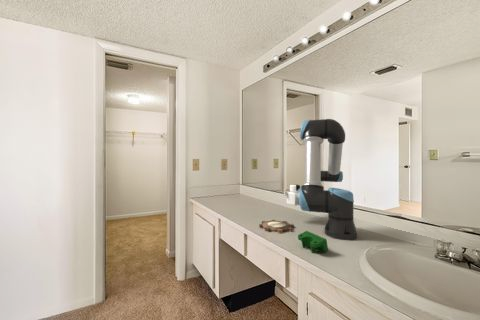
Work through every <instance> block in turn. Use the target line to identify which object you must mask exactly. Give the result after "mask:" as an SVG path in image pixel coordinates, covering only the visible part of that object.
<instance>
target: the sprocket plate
mask: <svg viewBox="0 0 480 320" xmlns="http://www.w3.org/2000/svg"><path fill="white" fill-rule="evenodd" d="M258 227H259V229H264V232H267V233H268V232H273V233H278V234H283V233H285V232H290V233H291V232H294V229H295V224H294V223H289V222H288V221H287V220H283V221H281V220H276V219H271V220H267V221H266V220H263V221H261V223H259V225H258Z"/></svg>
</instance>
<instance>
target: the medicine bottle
mask: <svg viewBox="0 0 480 320" xmlns="http://www.w3.org/2000/svg"><path fill="white" fill-rule="evenodd" d="M299 189H301V186H300V185H299V184H290V185H289V190H290V192H287V195H286V204H287V205H292V206H300V203H299V197H298V190H299Z"/></svg>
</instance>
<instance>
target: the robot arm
mask: <svg viewBox="0 0 480 320" xmlns="http://www.w3.org/2000/svg"><path fill="white" fill-rule="evenodd" d="M300 126H301V127H300V134H299V136H300V137H299V138H300V140H301V141H302V143H303V144H304V174H303V175H304V176H303V177H304V179H303V184H301V186H300V189H299V190H298V197H299V203H300V205H299V208H300V209H301V211H304V212H309V213H311V212H313V213H323V214H327V216H328V217H327V221H326V223H325V226H324V234H325V235H326V236H328V237H331V238H333V239H338V240H344V241H345V240H346V241H348V240H349V241H350V240H351V241H352V240H356V239H357V238H358V231H357V230H358V229H357V227H356V224H355V222H354V202H355V200H354V193H353V192H352V191H350V190H348V189H344V188H337V187H329V188H327V190H326V189H325V188H324V185H322V184H321V183H322V182H327V183H328V182H330V183H342V182H343V181H342V180H343V178H344V175H343V171H341V164H342V156H343V146H344V145H343V144H344V143H345V141H346V132H345V129H344V127H343V125H342V124H341V123H339V122H338V121H337V120H335V119H332V118H322V119H307V120H304V121H302V123H301V125H300ZM324 140H327V142H328V163H327V170H322V169H321V166H322V165H321V162H322V161H321V160H322V159H321V158H322V157H321V156H322V155H321V154H322V151H321V150H322V149H321V146H322V144H323V143H324ZM287 192H290V189H286V190H284V191H283V196H286V197H287Z"/></svg>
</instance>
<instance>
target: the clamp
mask: <svg viewBox="0 0 480 320" xmlns="http://www.w3.org/2000/svg"><path fill="white" fill-rule="evenodd" d="M297 239H298V241H300V242H301V246H302V248H303V249H305V248H308V247H309V248H310V251H311V253H312V254H313V253H315V252H317V251H319V252H320V253H323V254H325V253H326V252H328V251H329V247H328V241H327V238H325V237H322V236H319V235H317V234H315V233H312V232H311V231H308V230H306V231H303V232H302V233H299V234H298V235H297Z"/></svg>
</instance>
